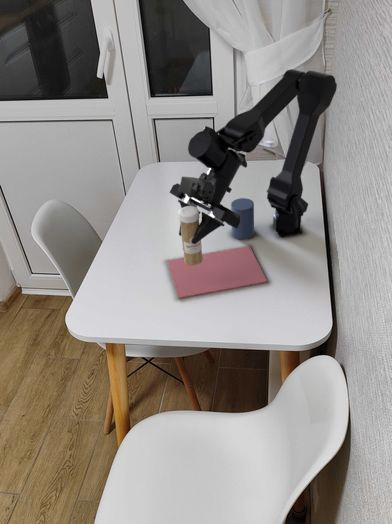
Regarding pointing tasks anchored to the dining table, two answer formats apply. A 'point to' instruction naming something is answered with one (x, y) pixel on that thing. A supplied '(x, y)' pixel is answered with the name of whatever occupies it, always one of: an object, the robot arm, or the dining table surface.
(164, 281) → the dining table surface
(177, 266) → the rose mat
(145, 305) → the dining table surface
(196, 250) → the sprinkles bottle
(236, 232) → the blue canister
